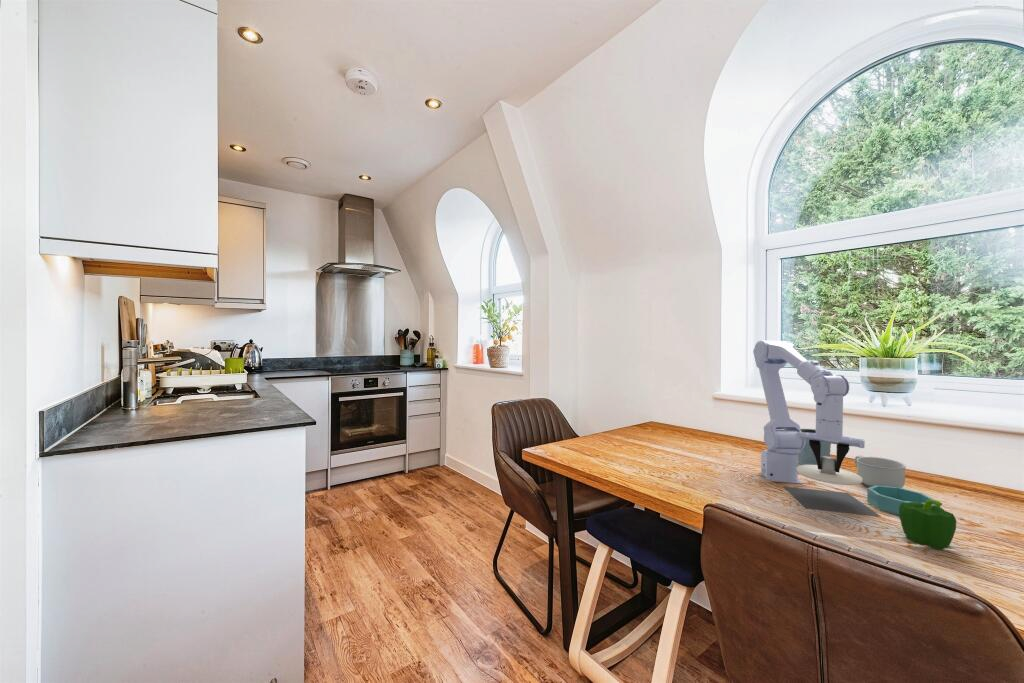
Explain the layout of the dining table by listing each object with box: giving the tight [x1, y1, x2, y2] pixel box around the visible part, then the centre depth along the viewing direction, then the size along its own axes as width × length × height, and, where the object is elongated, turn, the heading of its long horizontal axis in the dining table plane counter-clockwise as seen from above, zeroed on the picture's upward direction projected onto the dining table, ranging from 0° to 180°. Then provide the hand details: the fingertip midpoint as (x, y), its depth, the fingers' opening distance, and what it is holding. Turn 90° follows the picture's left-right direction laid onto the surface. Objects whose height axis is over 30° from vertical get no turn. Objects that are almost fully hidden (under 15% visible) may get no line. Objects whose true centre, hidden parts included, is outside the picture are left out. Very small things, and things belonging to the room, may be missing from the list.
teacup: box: [854, 455, 907, 488], centre depth 122 cm, size 14×11×8 cm
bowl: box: [866, 485, 937, 516], centre depth 105 cm, size 12×12×4 cm
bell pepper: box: [898, 498, 957, 550], centre depth 87 cm, size 8×8×10 cm
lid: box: [797, 456, 863, 486], centre depth 109 cm, size 14×14×5 cm
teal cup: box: [798, 428, 832, 466], centre depth 141 cm, size 10×10×12 cm
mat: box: [783, 486, 882, 518], centre depth 110 cm, size 16×16×1 cm
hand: (828, 470), depth 109 cm, fingers closed on lid, 3 cm apart
